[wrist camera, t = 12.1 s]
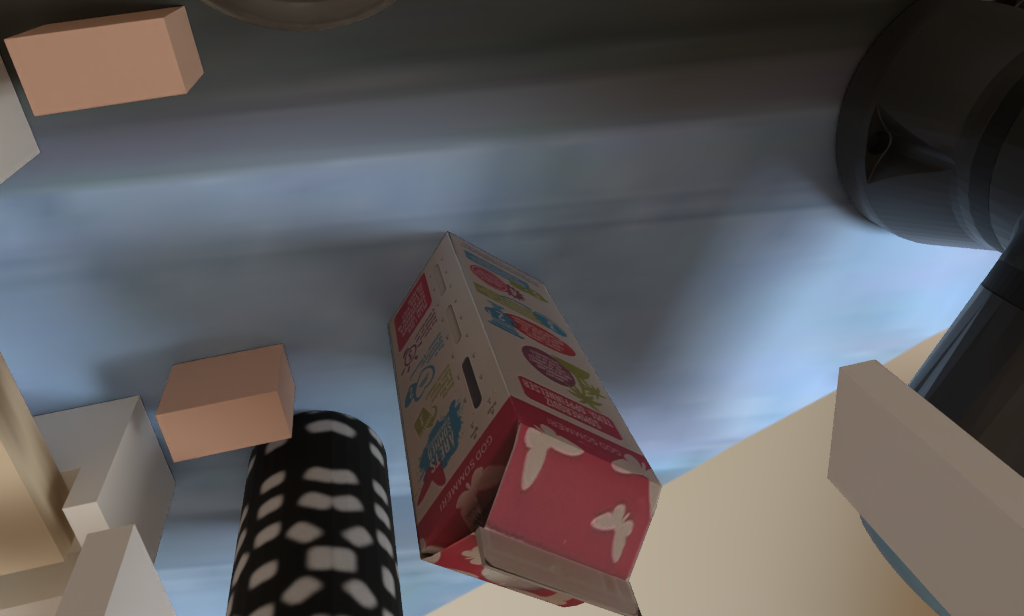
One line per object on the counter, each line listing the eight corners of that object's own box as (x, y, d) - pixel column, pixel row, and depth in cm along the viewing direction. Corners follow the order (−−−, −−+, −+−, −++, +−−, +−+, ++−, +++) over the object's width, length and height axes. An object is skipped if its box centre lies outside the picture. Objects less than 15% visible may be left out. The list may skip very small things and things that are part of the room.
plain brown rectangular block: (45, 24, 34) (3, 39, 30) (184, 5, 35) (163, 17, 30) (189, 408, 44) (174, 462, 39) (295, 387, 45) (291, 437, 40)
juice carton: (482, 369, 47) (588, 680, 28) (387, 325, 44) (431, 635, 25) (543, 283, 45) (701, 551, 26) (447, 231, 42) (544, 487, 23)
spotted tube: (337, 387, 45) (342, 678, 28) (411, 476, 49) (456, 779, 32) (219, 456, 46) (150, 787, 28) (302, 539, 50) (287, 873, 32)
